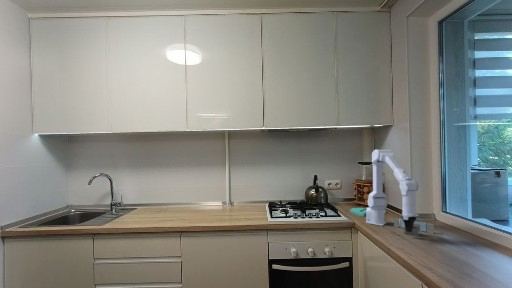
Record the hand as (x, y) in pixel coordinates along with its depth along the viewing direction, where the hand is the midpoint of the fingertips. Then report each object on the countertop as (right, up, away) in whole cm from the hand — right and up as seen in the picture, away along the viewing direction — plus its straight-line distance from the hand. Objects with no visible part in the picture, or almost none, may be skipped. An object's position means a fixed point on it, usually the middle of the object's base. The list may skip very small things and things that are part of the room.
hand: (409, 231), depth 134 cm
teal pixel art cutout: (0, -5, +51) cm, 51 cm away
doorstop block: (+5, -3, +5) cm, 8 cm away
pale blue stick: (+10, -3, +13) cm, 16 cm away
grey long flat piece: (+10, -3, +13) cm, 16 cm away
